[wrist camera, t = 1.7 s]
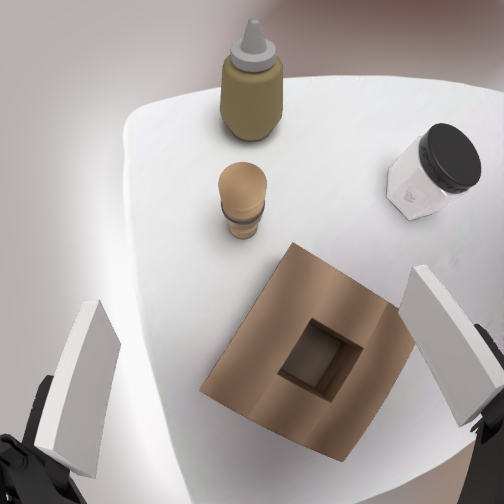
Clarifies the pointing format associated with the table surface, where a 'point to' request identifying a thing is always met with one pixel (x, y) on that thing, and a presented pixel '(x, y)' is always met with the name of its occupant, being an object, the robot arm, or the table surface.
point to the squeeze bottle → (252, 85)
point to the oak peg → (242, 197)
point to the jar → (433, 172)
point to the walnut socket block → (312, 356)
